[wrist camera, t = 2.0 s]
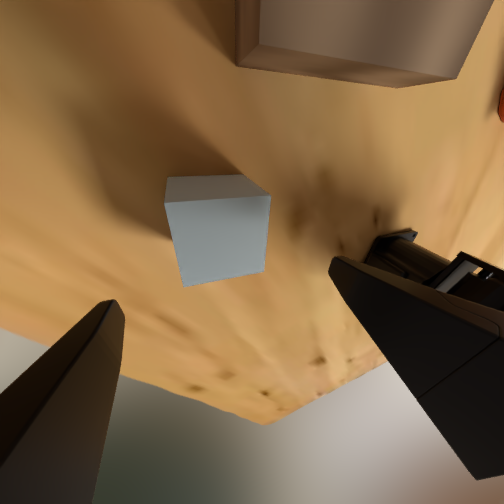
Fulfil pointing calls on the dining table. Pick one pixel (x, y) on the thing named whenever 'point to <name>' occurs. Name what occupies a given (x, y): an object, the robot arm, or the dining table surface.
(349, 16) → the walnut block
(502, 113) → the hamburger
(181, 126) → the dining table surface
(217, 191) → the slate cube
